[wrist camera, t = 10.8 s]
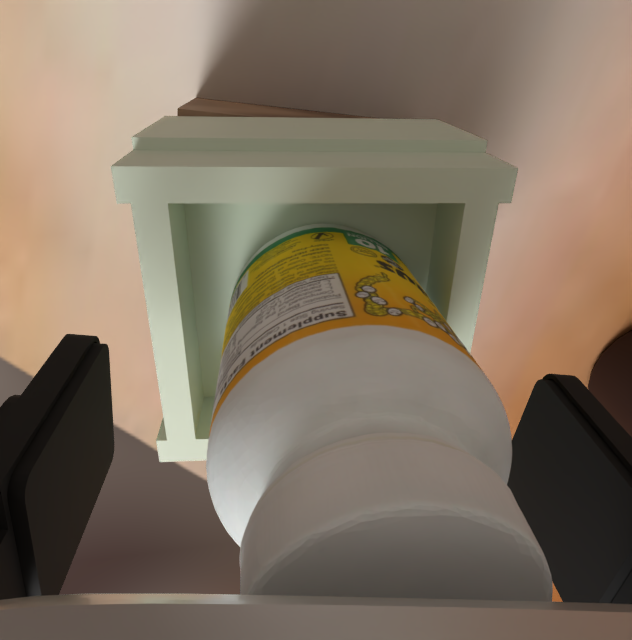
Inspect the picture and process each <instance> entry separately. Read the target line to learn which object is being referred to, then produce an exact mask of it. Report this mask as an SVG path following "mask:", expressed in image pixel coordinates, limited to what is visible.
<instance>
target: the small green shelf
mask: <svg viewBox="0 0 632 640" xmlns="http://www.w3.org/2000/svg"><path fill="white" fill-rule="evenodd" d="M487 141H488V140H485V139H483V138H481V137H478V136H476V135H473V134H471V133H469V132H466V131H464V130H462V129H459V128H457V127H455V126H452V125H450V124H448V123H445V122H443V121H441V120H438V119H370V118H289V117H208V116H165V117H163V118H161V119H160V120H158V121H157V122H155V123H153V124H152V125H150V126H149V127H147V128H145V129H144V130H142V131H141V132H139V133H137V134H136V135H134V136H133V137H132V144H133V151H131V152H130V153H128V154H127V155H126V156H124V157H123V158H122V159H120V160H119V161H117V162H116V163H115V164H113V165H112V166H111V170H112V176H113V183H114V189H115V195H116V201H117V203H131V208H132V214H133V221H134V227H135V234H136V240H137V247H138V253H139V260H140V267H141V273H142V280H143V286H144V293H145V299H146V306H147V313H148V319H149V326H150V332H151V339H152V345H153V352H154V358H155V365H156V372H157V378H158V385H159V391H160V398H161V404H162V411H163V420H162V423H161V426H160V430H159V433H158V437H157V440H156V443H157V449H158V455H159V461H160V462H174V461H200V460H207V448H208V440H209V432H210V425H211V419H212V412H213V406H214V400H215V393H216V386H217V380H218V375H219V368H220V362H221V355H222V348H223V342H224V334H225V327H226V323H227V318H228V311H229V306H230V301H231V296H232V292H233V289H234V286H235V284H236V281H237V279H238V277H239V275H240V273H241V271H242V270H243V268H244V266H245V265H246V264H247V262H248V261H249V260H250V259H251V257H252V256H253V255H254V254H255V253H256V252H257V251H258V250H259V249H260V248H261V247H262V246H264V245H265V244H266V243H268V242H269V241H271V240H272V239H274V238H276V237H277V236H279V235H281V234H283V233H285V232H287V231H290V230H292V229H295V228H298V227H302V226H305V225H311V224H336V225H341V226H346V227H350V228H353V229H356V230H358V231H361V232H363V233H366V234H368V235H370V236H372V237H374V238H376V239H378V240H379V241H381V242H383V243H384V244H385V245H387V246H388V247H389V248H390V249H391V250H393V251H394V252H395V254H396V255H397V256H398V257H399V258H400V259H401V260H402V262H403V263H404V264H405V265H406V266H407V268H408V269H409V271H410V272H411V274H412V275H413V276H414V278H415V279H416V280H417V282H418V283H419V285H420V286H421V287H422V289H423V290H424V291H425V292H426V294H427V295H428V297H429V298H430V300H431V301H432V302H433V304H434V305H435V306H436V308H437V309H438V311H439V312H440V314H441V315H442V316H443V318H444V319H445V320H446V322H447V323H448V324H449V326H450V327H451V329H452V330H453V331H454V333H455V334H456V336H457V337H458V338H459V339H460V341H461V342H462V343H463V344H464V346H465V347H466V349H467V350H468V352H469V353H470V351H471V346H472V341H473V336H474V330H475V325H476V320H477V315H478V309H479V304H480V299H481V293H482V288H483V283H484V278H485V272H486V267H487V262H488V257H489V251H490V246H491V241H492V236H493V230H494V225H495V220H496V215H497V209H498V204H499V203H511V201H512V196H513V191H514V186H515V181H516V176H517V171H518V168H516V167H514V166H512V165H510V164H508V163H506V162H504V161H502V160H500V159H498V158H496V157H494V156H492V155H490V154H488V153H486V147H487Z"/></svg>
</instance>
